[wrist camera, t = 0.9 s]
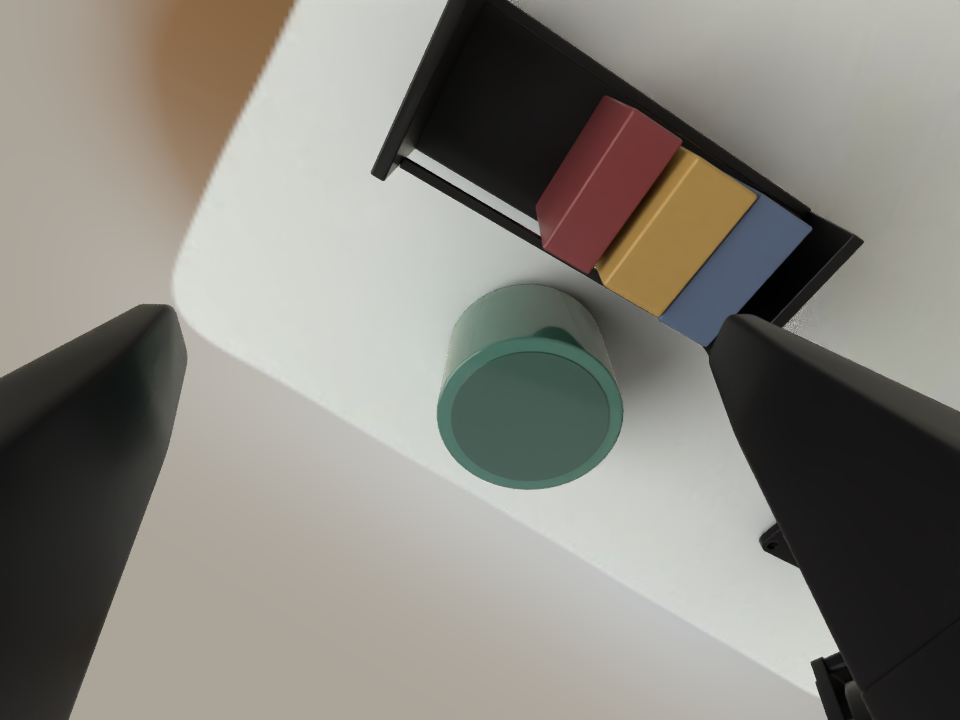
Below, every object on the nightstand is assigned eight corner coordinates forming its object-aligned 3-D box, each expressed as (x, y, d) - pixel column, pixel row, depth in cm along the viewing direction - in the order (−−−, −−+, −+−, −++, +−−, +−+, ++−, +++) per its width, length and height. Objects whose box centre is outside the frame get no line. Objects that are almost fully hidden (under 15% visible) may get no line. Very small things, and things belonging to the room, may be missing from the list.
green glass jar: (632, 327, 22) (663, 395, 18) (547, 434, 25) (555, 515, 21) (498, 250, 21) (496, 303, 17) (423, 373, 24) (405, 445, 19)
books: (740, 186, 19) (818, 231, 14) (663, 284, 21) (708, 351, 16) (604, 93, 18) (639, 109, 13) (534, 206, 20) (543, 255, 15)
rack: (770, 189, 19) (867, 240, 14) (676, 303, 22) (730, 382, 16) (478, -11, 17) (465, -38, 12) (406, 141, 19) (369, 175, 14)
